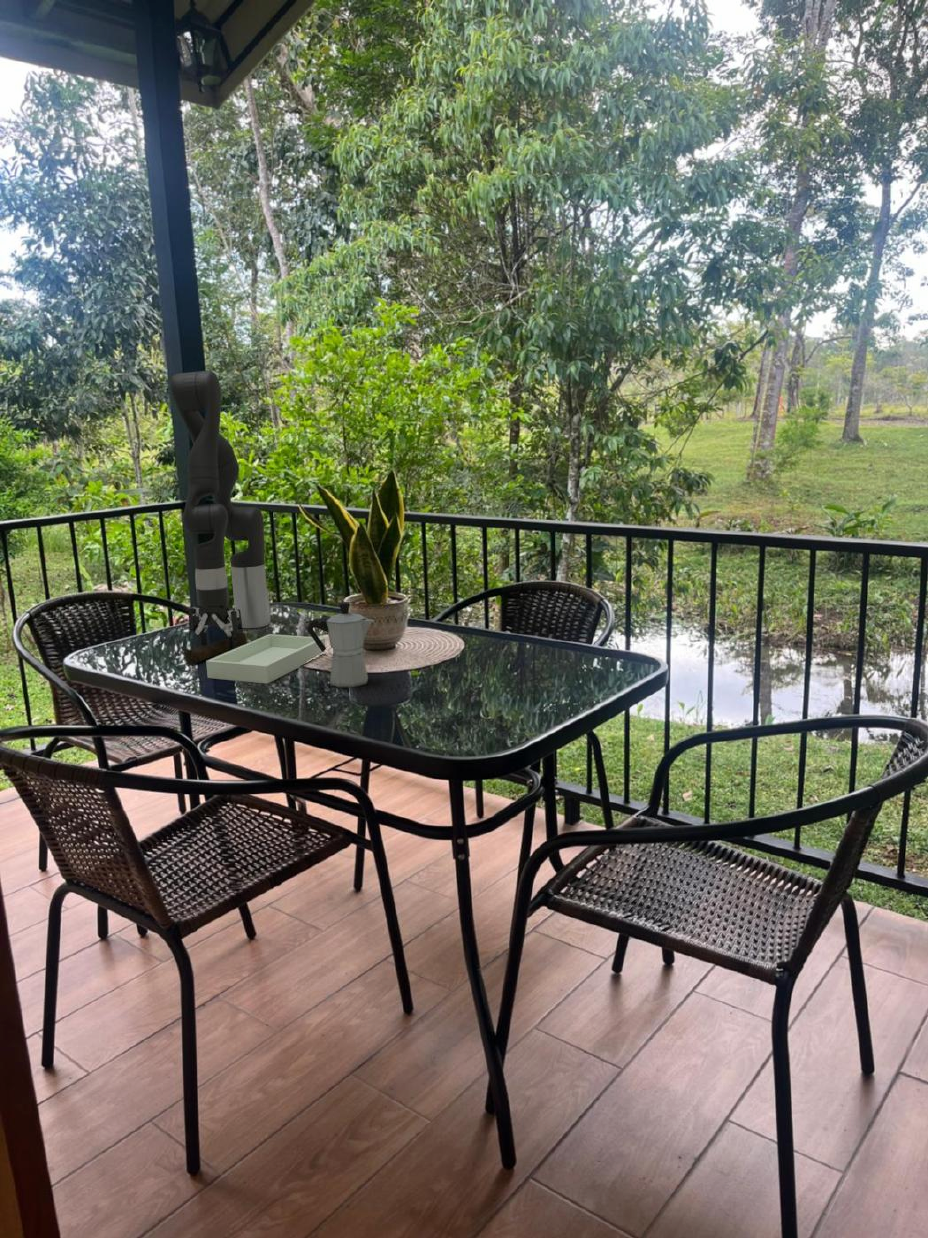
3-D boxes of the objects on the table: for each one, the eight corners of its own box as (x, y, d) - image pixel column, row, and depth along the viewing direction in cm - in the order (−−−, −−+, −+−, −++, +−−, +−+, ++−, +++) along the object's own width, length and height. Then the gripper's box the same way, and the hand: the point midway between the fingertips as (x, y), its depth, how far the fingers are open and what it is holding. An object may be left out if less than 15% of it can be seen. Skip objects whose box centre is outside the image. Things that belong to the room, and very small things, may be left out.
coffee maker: (379, 675, 210) (375, 597, 206) (375, 687, 202) (371, 606, 198) (314, 676, 211) (308, 599, 207) (307, 688, 202) (301, 607, 198)
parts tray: (270, 649, 236) (269, 634, 235) (325, 653, 230) (324, 638, 229) (207, 678, 212) (206, 661, 211) (267, 683, 206) (266, 666, 206)
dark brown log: (196, 666, 223) (194, 647, 222) (185, 664, 225) (183, 645, 224) (254, 648, 238) (252, 631, 237) (243, 646, 241) (241, 629, 240)
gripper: (245, 583, 229) (250, 647, 233) (197, 581, 234) (203, 643, 238) (227, 589, 222) (232, 655, 226) (178, 587, 227) (184, 651, 231)
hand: (217, 649), depth 232 cm, fingers open, 8 cm apart
